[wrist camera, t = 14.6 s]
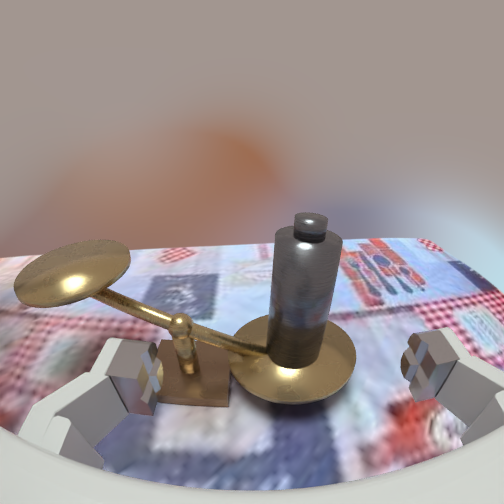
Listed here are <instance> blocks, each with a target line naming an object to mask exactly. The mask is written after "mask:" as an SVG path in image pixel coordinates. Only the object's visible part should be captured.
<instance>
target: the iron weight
mask: <svg viewBox="0 0 504 504" xmlns="http://www.w3.org/2000/svg"><path fill="white" fill-rule="evenodd" d="M327 223H328V218H326V217H325V216H323V215H320V214H315V213H298V214H296V215H295V221H294V226H288V227H284V228H281V229H279V230H278V231H277V232H276V234H275V246H274V259H273V271H272V284H271V296H270V307H269V319H268V330H267V340H266V352H267V354H268V356H269V358H270V359H271V360H272V361H274V362H275V363H277V364H279V365H281V366H284V367H288V368H302V367H306V366H309V365H311V364H312V363H314V362H315V361H316V360H317V358H318V356H319V353H320V349H321V345H322V341H323V337H324V333H325V328H326V324H327V320H328V315H329V311H330V306H331V302H332V297H333V292H334V287H335V282H336V277H337V272H338V266H339V261H340V255H341V249H342V244H343V241H342V239H341V238H340V237H339V236H338V235H337V234H335V233H333V232H331V231H328V230H327Z"/></svg>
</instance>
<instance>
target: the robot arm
mask: <svg viewBox="0 0 504 504" xmlns="http://www.w3.org/2000/svg"><path fill="white" fill-rule="evenodd" d="M408 345H409V348H408V349H407V350H406V351H405V352H404V353H403V355H402V358H401V371H402V374H403V377H404V378H405V379H406V380H408V381H409V382H410V385H409V389H410V392H411V394H412V396H413V398H414V400H415V402H418V401H423V400H427V399H431V398H435V397H436V398H435V399H436V400H437V401H438V402H440V403H441V404H442V405H443V406H444V407H446V408H447V409H448V410H449V411H450V412H452V413H453V414H454V415H455V416H456V417H458V418H459V419H460V420H461V421H462V422H464V423H465V424H466V425H467V426H468V427H469V428H468V429H467V430H466V431H465V432H464V433H463V434H462V436H461V438H460V439H461V441H462V443H463V446H462V447H459V448H457V449H455V450H452V451H450V452H448V453H445V454H443V455H440V456H438V457H435V458H432V459H430V460H427V461H424V462H421V463H418V464H415V465H412V466H409V467H406V468H403V469H399V470H396V471H392V472H389V473H385V474H381V475H377V476H373V477H368V478H364V479H359V480H354V481H349V482H344V483H338V484H332V485H325V486H317V487H309V488H299V489H286V490H265V491H236V490H215V489H202V488H192V487H184V486H176V485H169V484H163V483H157V482H152V481H147V480H142V479H137V478H133V477H128V476H124V475H120V474H116V473H113V472H109V471H105V470H102V468H103V465H104V460H103V458H102V457H101V456H100V455H99V454H98V452H97V451H96V450H95V449H94V448H93V447H95V446H96V445H97V444H98V443H99V442H100V441H101V440H102V439H103V438H104V437H105V436H106V435H107V434H108V433H109V432H111V431H112V430H113V429H114V428H115V427H116V426H117V425H118V424H119V423H120V422H121V421H122V420H123V419H124V418H125V417H126V416H127V415H128V413H134V414H141V415H149V416H154V412H155V408H156V405H157V401H158V399H157V396H156V394H155V393H156V392H158V391H159V390H160V389H161V387H162V383H163V367H162V363H161V361H160V360H159V359H158V358H157V357H156V356H157V353H158V350H157V347H156V344H155V343H153V342H147V341H138V340H129V339H119V338H112V337H111V338H109V339H108V340H107V341H106V343H105V345H104V347H103V348H102V350H101V352H100V354H99V356H98V358H97V360H96V361H95V363H94V365H93V367H92V369H91V371H90V372H85V373H83V374H82V375H80V376H79V377H77V378H75V379H74V380H72V381H71V382H69V383H68V384H66V385H64V386H63V387H61V388H60V389H58V390H56V391H55V392H53V393H52V394H50V395H48V396H47V397H45V398H44V399H42V400H41V401H39V402H37V403H36V404H34V405H33V406H32V408H31V410H30V412H29V414H28V416H27V417H26V419H25V421H24V423H23V425H22V427H21V429H20V431H19V433H18V435H15V434H13V433H11V432H9V431H7V430H6V429H4V428H2V427H0V504H504V372H503V371H501V370H499V369H497V368H495V367H494V366H492V365H490V364H488V363H486V362H485V361H483V360H481V359H479V358H477V357H476V356H471V355H470V354H469V352H468V351H467V350H466V348H465V347H464V346H463V344H462V343H461V341H460V340H459V339H458V337H457V336H456V335H455V333H454V332H453V331H452V329H450V328H448V327H446V328H441V329H436V330H431V331H425V332H419V333H413V334H412V335H411V336H410V338H409V340H408Z"/></svg>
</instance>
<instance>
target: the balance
mask: <svg viewBox="0 0 504 504" xmlns="http://www.w3.org/2000/svg"><path fill="white" fill-rule="evenodd" d="M130 263H131V257H130V252H129V249H128V248H127V247H126V246H125V245H124V244H122V243H119V242H116V241H111V240H91V241H83V242H78V243H74V244H70V245H66V246H63V247H60V248H58V249H55V250H53V251H50V252H48V253H46V254H44V255H42V256H40V257H38V258H37V259H35V260H34V261H32V262H31V263H30V264H28V265H27V266H26V267H25V268H24V269H23V270H22V271H21V272H20V273H19V274H18V276H17V277H16V279H15V282H14V291H15V293H16V296H17V298H18V300H19V301H20V302H22V303H23V304H25V305H27V306H30V307H35V308H51V307H59V306H63V305H68V304H71V303H75V302H78V301H81V300H83V299H86V298H88V297H91V298H93V299H96V300H98V301H100V302H102V303H104V304H107V305H109V306H111V307H113V308H116V309H118V310H120V311H122V312H125V313H127V314H130V315H132V316H134V317H137V318H139V319H142V320H144V321H147V322H149V323H152V324H154V325H157V326H159V327H162V328H164V329H167V330H168V331H169V333H170V335H171V336H172V339H173V340H161V342H160V345H159V347H158V353H157V356H156V357H157V358H158V359H159V360H160V361H161V363H162V367H163V383H162V387H161V389H160V390H159V391H158V392H156V393H155V394H156V396H157V399H158V401H157V402H161V403H171V404H181V405H195V406H213V407H228V402H229V389H230V377H231V372H232V374H233V376H234V378H235V379H236V380H237V381H238V383H239V384H240V385H241V386H242V387H244V388H245V389H246V390H247V391H249V392H250V393H252V394H253V395H255V396H257V397H260V398H262V399H265V400H268V401H270V402H275V403H280V404H290V405H291V404H307V403H312V402H316V401H319V400H322V399H325V398H327V397H329V396H331V395H333V394H334V393H336V392H337V391H338V390H340V389H341V388H342V387H343V386H344V385H345V384H346V383H347V381H348V380H349V379H350V377H351V375H352V373H353V370H354V367H355V363H356V350H355V347H354V344H353V342H352V340H351V339H350V337H349V336H348V335H347V333H346V332H345V331H344V330H342V329H341V328H340V327H339V326H337V325H336V324H334V323H332V322H330V321H329V320H327V324H326V328H325V333H324V337H323V341H322V345H321V349H320V353H319V356H318V358H317V360H316V361H315V362H314V363H312V364H311V365H309V366H306V367H302V368H288V367H284V366H281V365H279V364H277V363H275V362H274V361H272V360H271V359H270V358H269V356H268V354H267V352H266V340H267V330H268V319H269V315H265V316H262V317H259V318H257V319H254V320H252V321H251V322H249V323H247V324H246V325H244V326H243V327H242V328H240V329H239V330H238V331H237V332H236V334H235V335H234V336H230V335H227V334H224V333H221V332H218V331H215V330H213V329H210V328H207V327H204V326H201V325H198V324H195V323H193V320H192V319H191V317H190V316H188V315H187V314H184V313H177V314H174V315H171V314H168V313H166V312H163V311H161V310H158V309H156V308H153V307H151V306H148V305H146V304H143V303H141V302H138V301H136V300H134V299H131V298H129V297H126V296H124V295H122V294H119V293H117V292H115V291H112V290H110V289H108V288H107V287H109V286H111V285H112V284H113V283H115V282H116V281H117V280H118V279H119V278H121V277H122V276H123V275H124V273H125V272H126V271H127V269H128V268H129V266H130ZM194 339H195V340H197V341H195V340H194Z"/></svg>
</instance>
